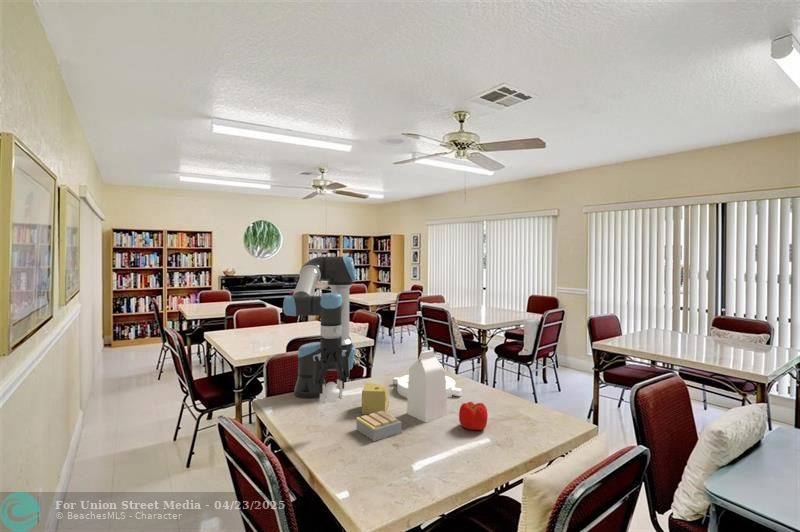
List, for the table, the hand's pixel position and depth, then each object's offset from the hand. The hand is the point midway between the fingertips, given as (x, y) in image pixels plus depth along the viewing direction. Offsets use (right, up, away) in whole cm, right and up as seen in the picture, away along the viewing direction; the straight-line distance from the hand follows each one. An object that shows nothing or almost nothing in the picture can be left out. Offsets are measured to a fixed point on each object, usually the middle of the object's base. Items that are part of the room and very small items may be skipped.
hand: (331, 399), depth 144 cm
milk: (+36, -13, +20) cm, 43 cm away
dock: (+17, -13, +4) cm, 22 cm away
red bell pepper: (+53, -13, +8) cm, 55 cm away
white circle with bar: (+38, -13, +50) cm, 64 cm away
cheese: (+14, -13, +24) cm, 31 cm away
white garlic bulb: (0, -1, 0) cm, 1 cm away
